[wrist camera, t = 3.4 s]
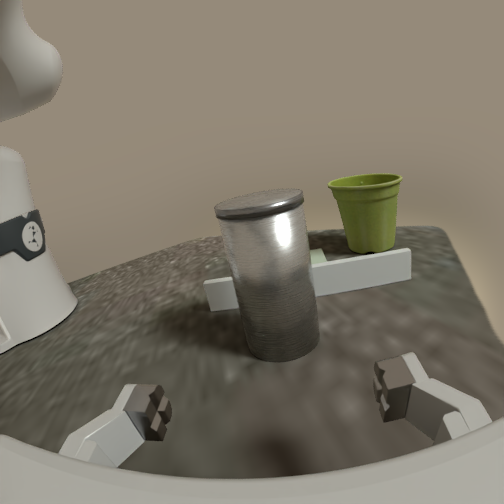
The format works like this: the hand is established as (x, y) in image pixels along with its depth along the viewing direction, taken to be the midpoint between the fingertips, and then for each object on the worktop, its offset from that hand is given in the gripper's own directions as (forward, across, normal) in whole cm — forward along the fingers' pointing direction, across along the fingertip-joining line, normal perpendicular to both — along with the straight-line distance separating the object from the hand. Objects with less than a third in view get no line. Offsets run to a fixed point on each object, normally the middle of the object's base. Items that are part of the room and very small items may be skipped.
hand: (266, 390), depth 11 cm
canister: (+12, 0, +6) cm, 13 cm away
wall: (+18, -3, +6) cm, 19 cm away
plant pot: (+29, -12, +6) cm, 32 cm away
